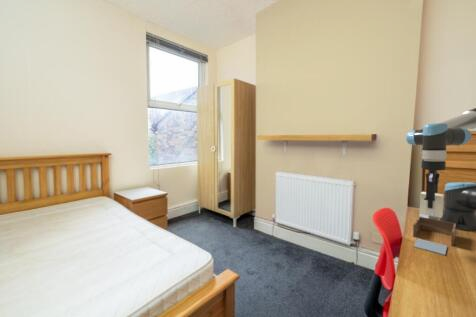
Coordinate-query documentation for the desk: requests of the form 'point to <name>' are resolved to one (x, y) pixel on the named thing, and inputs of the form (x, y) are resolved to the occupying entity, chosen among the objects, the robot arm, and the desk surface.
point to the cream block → (438, 204)
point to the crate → (435, 227)
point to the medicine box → (427, 216)
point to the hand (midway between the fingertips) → (431, 213)
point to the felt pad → (430, 246)
